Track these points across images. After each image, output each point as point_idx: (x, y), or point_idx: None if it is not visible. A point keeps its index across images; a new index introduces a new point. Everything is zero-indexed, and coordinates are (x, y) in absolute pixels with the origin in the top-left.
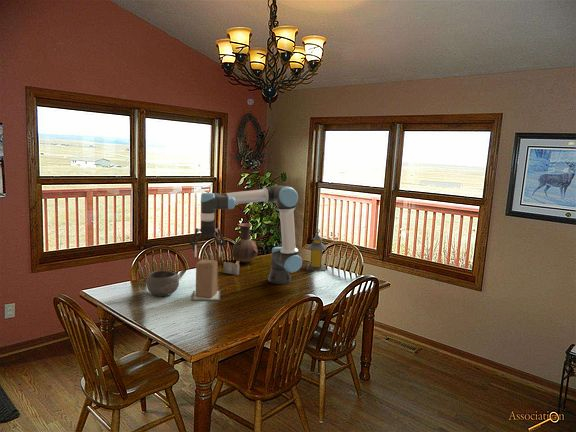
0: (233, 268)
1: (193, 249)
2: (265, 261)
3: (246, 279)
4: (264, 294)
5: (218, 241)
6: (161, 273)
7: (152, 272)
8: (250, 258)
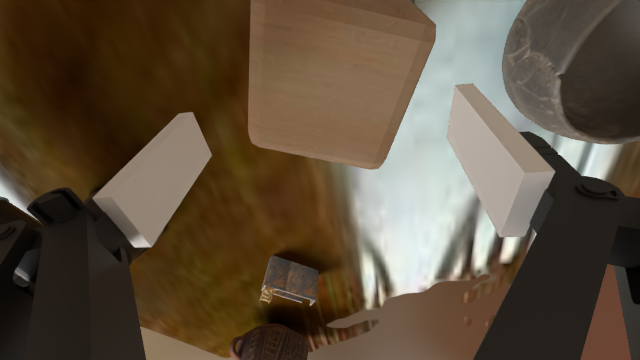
0: (281, 276)
1: (536, 145)
2: (230, 327)
3: (231, 223)
4: (97, 76)
5: (64, 264)
6: (629, 130)
7: None
8: (253, 329)
